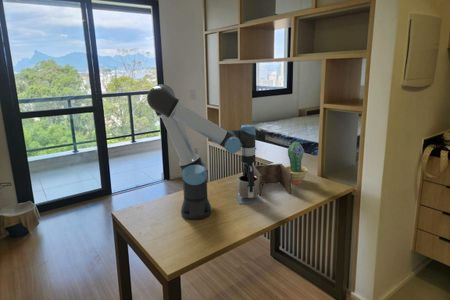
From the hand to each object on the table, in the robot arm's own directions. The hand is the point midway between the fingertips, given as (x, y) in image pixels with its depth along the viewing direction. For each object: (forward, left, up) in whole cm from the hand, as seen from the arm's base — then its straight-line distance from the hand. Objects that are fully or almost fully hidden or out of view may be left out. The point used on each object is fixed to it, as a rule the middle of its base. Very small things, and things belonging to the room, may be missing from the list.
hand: (248, 192), depth 171 cm
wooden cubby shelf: (+16, +12, -3) cm, 20 cm away
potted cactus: (+34, +20, -4) cm, 40 cm away
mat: (0, 0, -3) cm, 3 cm away
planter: (0, 0, -1) cm, 1 cm away
